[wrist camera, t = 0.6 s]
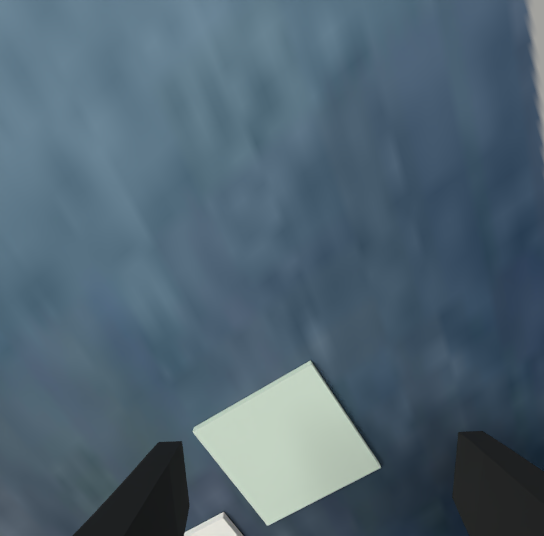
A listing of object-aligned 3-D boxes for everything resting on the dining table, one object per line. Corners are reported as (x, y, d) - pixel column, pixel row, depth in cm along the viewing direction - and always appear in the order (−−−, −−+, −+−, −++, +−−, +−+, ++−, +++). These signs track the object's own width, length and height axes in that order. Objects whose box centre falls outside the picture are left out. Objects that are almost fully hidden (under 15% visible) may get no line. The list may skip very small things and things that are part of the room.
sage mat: (378, 462, 20) (381, 467, 20) (267, 519, 21) (267, 525, 21) (310, 360, 19) (311, 363, 18) (194, 427, 20) (192, 431, 19)
